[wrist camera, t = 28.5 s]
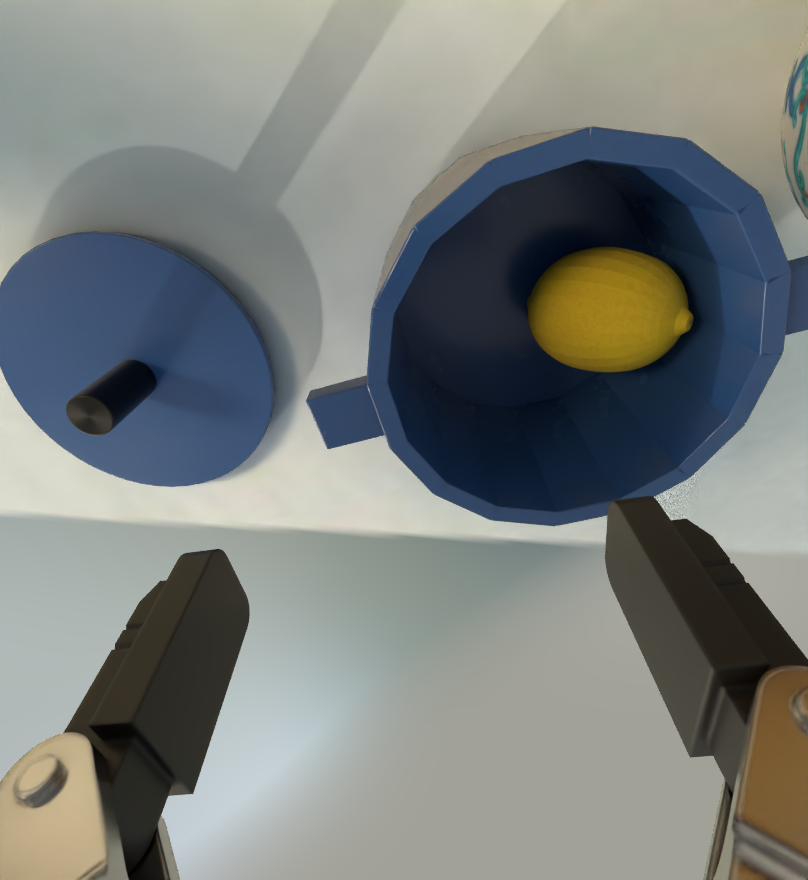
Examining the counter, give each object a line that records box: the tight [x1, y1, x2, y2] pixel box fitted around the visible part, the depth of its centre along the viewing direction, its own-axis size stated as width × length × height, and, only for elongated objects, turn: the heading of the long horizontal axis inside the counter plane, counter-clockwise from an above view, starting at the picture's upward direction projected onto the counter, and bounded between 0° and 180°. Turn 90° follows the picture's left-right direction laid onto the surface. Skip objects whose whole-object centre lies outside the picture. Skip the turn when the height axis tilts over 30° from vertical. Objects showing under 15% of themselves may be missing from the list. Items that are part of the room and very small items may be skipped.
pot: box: [306, 127, 808, 526], centre depth 22 cm, size 15×20×10 cm
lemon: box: [526, 247, 693, 372], centre depth 23 cm, size 6×6×8 cm
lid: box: [0, 231, 274, 487], centre depth 27 cm, size 16×16×6 cm
